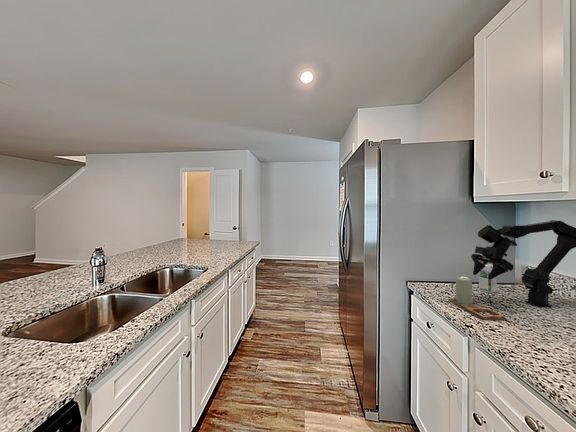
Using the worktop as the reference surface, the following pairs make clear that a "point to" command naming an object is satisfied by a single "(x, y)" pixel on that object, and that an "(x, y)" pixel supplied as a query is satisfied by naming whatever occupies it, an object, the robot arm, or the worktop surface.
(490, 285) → the syrup box
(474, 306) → the copper brown frame
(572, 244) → the robot arm
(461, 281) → the sage peg
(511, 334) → the worktop surface
